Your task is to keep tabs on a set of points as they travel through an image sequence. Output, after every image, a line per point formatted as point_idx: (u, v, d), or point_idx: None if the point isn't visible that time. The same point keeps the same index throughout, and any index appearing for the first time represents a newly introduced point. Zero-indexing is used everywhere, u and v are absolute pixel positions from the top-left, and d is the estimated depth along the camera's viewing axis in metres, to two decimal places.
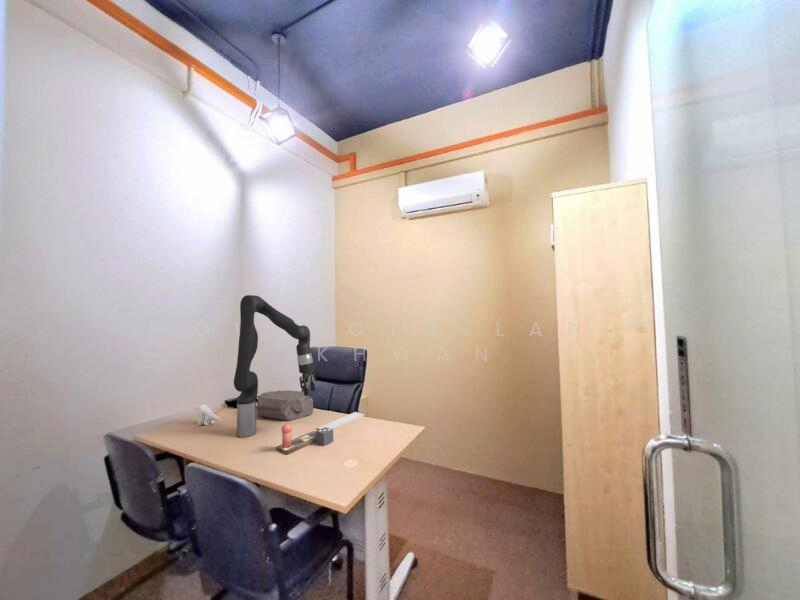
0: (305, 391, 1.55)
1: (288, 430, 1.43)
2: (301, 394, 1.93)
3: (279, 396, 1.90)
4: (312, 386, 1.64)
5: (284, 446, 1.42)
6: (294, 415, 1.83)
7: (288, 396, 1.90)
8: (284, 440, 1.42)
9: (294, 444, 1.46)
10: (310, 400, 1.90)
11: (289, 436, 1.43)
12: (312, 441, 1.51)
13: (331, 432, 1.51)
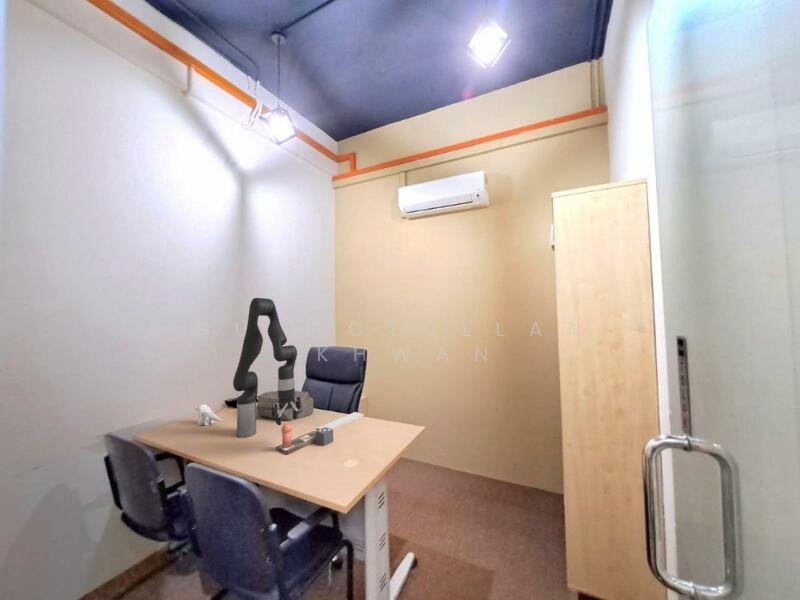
0: (277, 420, 1.40)
1: (288, 430, 1.43)
2: (301, 394, 1.93)
3: None
4: (294, 414, 1.48)
5: (284, 446, 1.42)
6: None
7: None
8: (284, 440, 1.42)
9: (294, 444, 1.46)
10: (310, 400, 1.91)
11: (289, 436, 1.43)
12: (312, 441, 1.51)
13: (331, 432, 1.51)
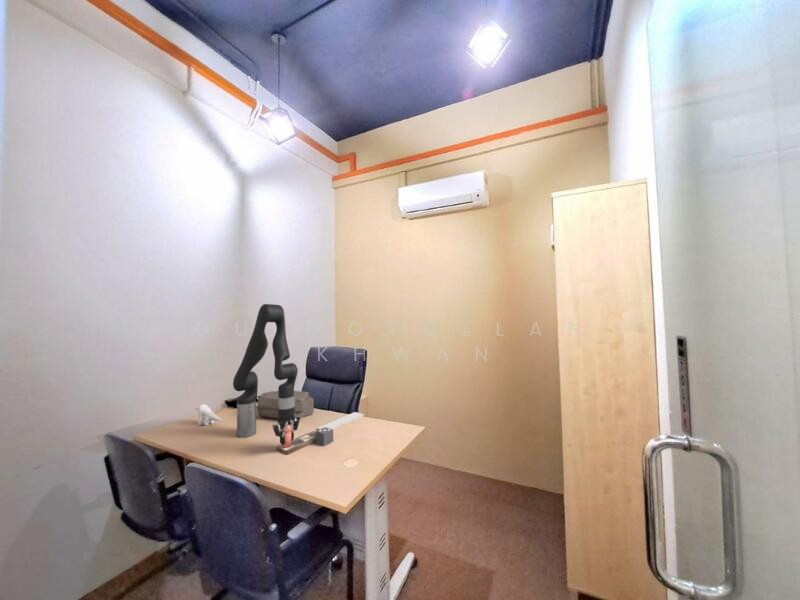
0: (281, 439, 1.41)
1: (288, 430, 1.43)
2: (302, 394, 1.93)
3: None
4: None
5: (284, 446, 1.42)
6: (294, 415, 1.83)
7: None
8: None
9: (294, 444, 1.46)
10: (311, 400, 1.91)
11: (289, 436, 1.43)
12: (312, 441, 1.51)
13: (331, 432, 1.51)
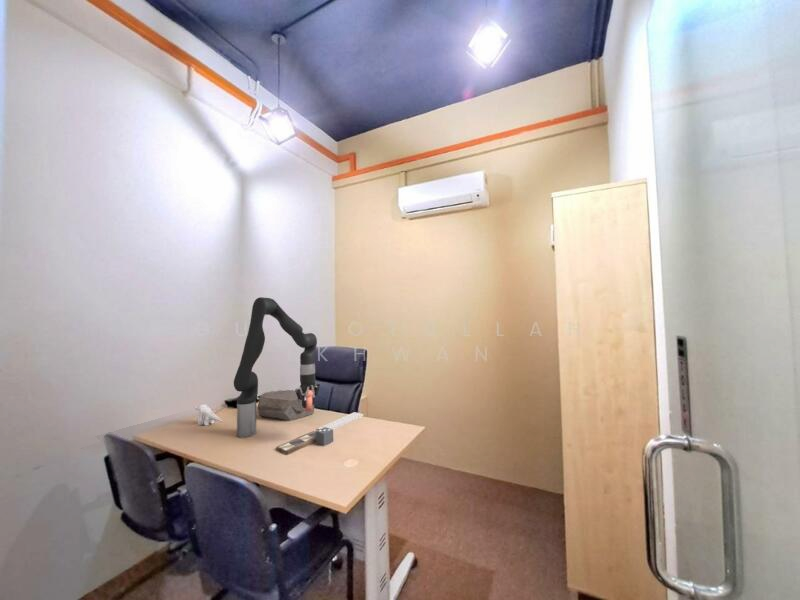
0: (303, 403, 1.52)
1: (309, 394, 1.53)
2: None
3: (280, 396, 1.91)
4: None
5: (306, 409, 1.52)
6: (295, 414, 1.84)
7: (289, 396, 1.90)
8: (306, 404, 1.53)
9: (294, 444, 1.46)
10: None
11: (310, 400, 1.53)
12: (312, 441, 1.51)
13: (331, 432, 1.51)
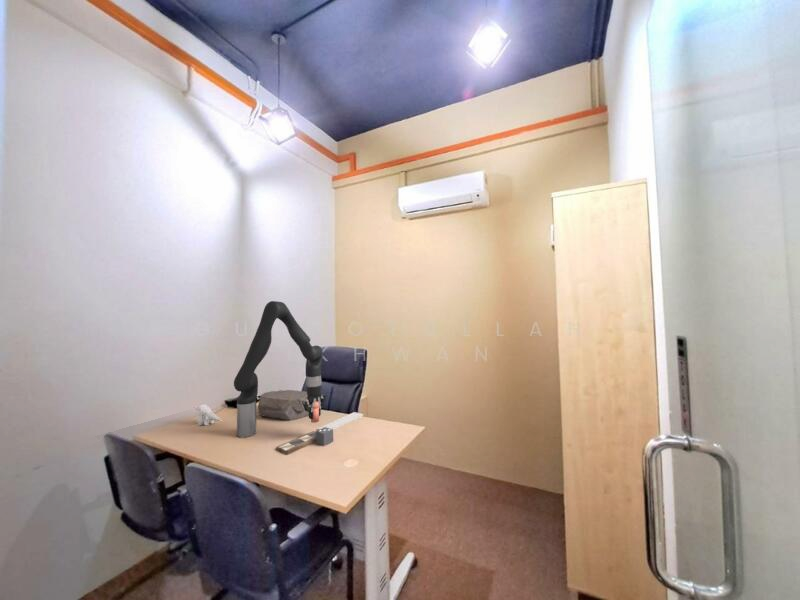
0: (309, 414, 1.55)
1: (316, 406, 1.56)
2: (302, 394, 1.94)
3: (280, 396, 1.91)
4: None
5: (313, 421, 1.56)
6: (295, 414, 1.84)
7: (289, 396, 1.90)
8: None
9: (294, 444, 1.46)
10: None
11: (317, 412, 1.57)
12: (312, 441, 1.51)
13: (331, 432, 1.51)
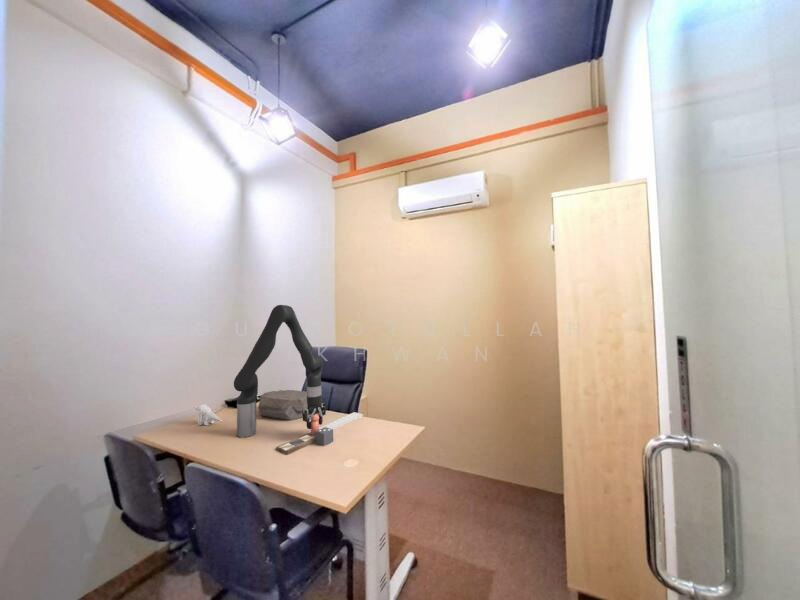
0: (307, 424, 1.54)
1: (316, 419, 1.56)
2: (303, 394, 1.94)
3: (281, 396, 1.91)
4: (319, 420, 1.60)
5: (312, 434, 1.56)
6: (295, 414, 1.84)
7: (290, 396, 1.90)
8: (312, 428, 1.56)
9: (294, 444, 1.46)
10: None
11: (317, 425, 1.57)
12: (312, 441, 1.51)
13: (331, 432, 1.51)
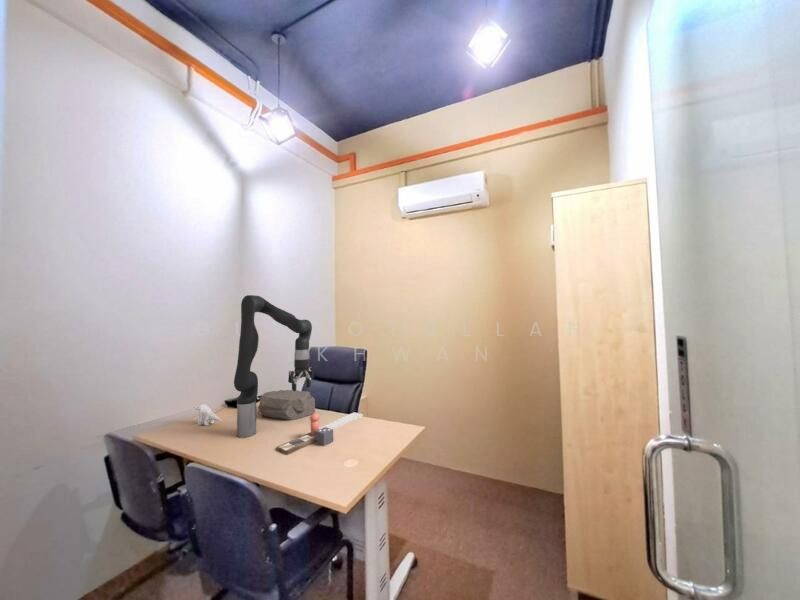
0: (293, 386, 1.54)
1: (316, 419, 1.56)
2: (303, 394, 1.94)
3: (281, 396, 1.91)
4: (307, 382, 1.61)
5: (312, 434, 1.56)
6: (296, 414, 1.84)
7: (290, 396, 1.90)
8: (312, 428, 1.56)
9: (294, 444, 1.46)
10: (312, 400, 1.91)
11: (317, 425, 1.57)
12: (312, 441, 1.51)
13: (331, 432, 1.51)
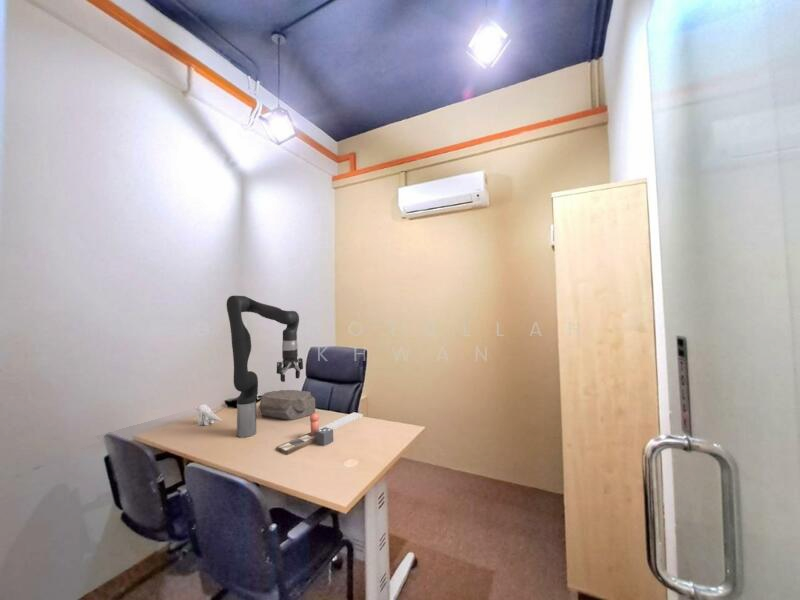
0: (281, 377, 1.54)
1: (316, 419, 1.56)
2: (303, 394, 1.94)
3: (281, 395, 1.91)
4: (296, 374, 1.61)
5: (312, 434, 1.56)
6: (296, 414, 1.84)
7: (290, 396, 1.91)
8: (312, 428, 1.56)
9: (294, 444, 1.46)
10: (312, 400, 1.91)
11: (317, 424, 1.57)
12: (312, 441, 1.51)
13: (331, 432, 1.51)
